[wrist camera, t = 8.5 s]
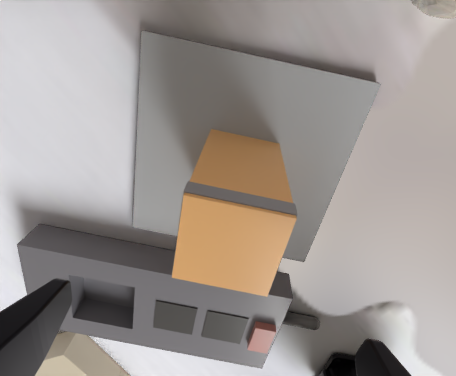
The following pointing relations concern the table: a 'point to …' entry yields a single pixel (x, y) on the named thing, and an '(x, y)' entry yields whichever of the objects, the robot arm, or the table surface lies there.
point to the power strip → (155, 298)
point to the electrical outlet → (78, 358)
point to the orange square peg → (235, 215)
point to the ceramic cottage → (437, 8)
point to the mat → (241, 125)
